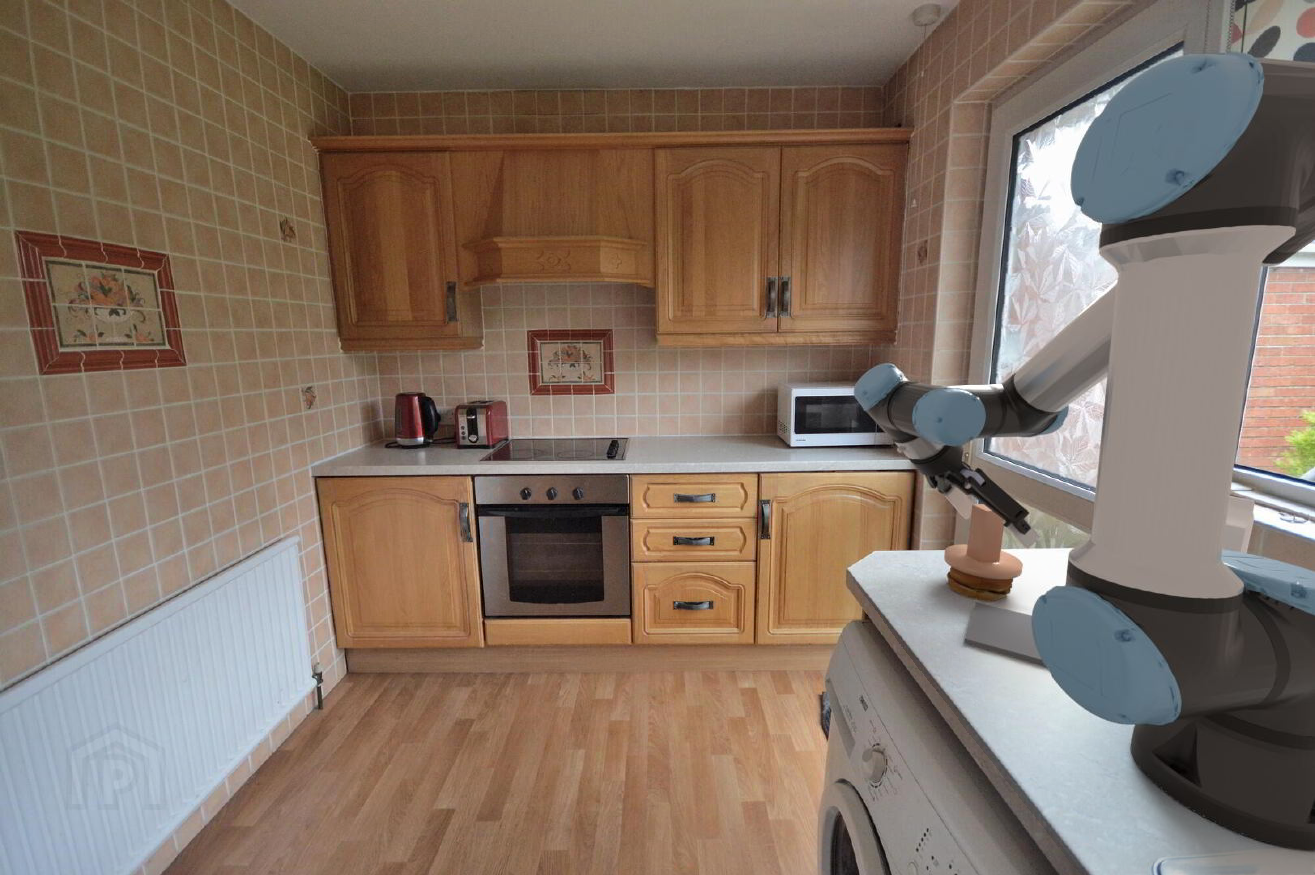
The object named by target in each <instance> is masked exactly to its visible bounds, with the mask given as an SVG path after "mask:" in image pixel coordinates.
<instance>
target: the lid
mask: <svg viewBox="0 0 1315 875" xmlns="http://www.w3.org/2000/svg"><path fill="white" fill-rule="evenodd" d="M969 519H970V520H969V528H968V538H967V544H965V543H964V544H961V543H960V544H954V545H950V546H948V547H946V548H945V550H944V555H943V560H944V562H945V563H946V564H947V565H948V566H949V567H950V568H951V567H953V568H955V569H957V570H959V571H961V572H964V573H967V574H970V575H974V576H978V577H983V578H990V579H1012V578H1013V579H1015V578H1017V577H1020V576H1021V575H1022V573H1023V568H1024V567H1023V566H1024V565H1023V564H1024V563H1023V562H1022V561H1021V560H1020V559H1019V558H1018V557H1016V556H1014V555H1013V554H1011V553H1009V552H1007V551H1003V550H1002V544H1003V536H1004V531H1005V530H1004V528H1005V526H1003V524H1004V523H1003V521H1004V519H1002V518H1001V517H1000V516H998V515H997V514H996V513H995V512H993V511H992V510H991V509H989V508H988V507H987V506H985V505H984V504H983V503H978V504H977V503H976V504H975V503H973V504H972V511H971V516H970V518H969Z"/></svg>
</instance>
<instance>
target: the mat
mask: <svg viewBox="0 0 1315 875" xmlns="http://www.w3.org/2000/svg"><path fill="white" fill-rule="evenodd" d="M1031 620H1032V614H1027V613H1025V612H1023V613H1022V612H1018V611H1016V610H1010V609H1006V608H1003V607H1000V606H999V607H998V606H994V605H989V604H986V603H983V602H982V603H981V602H978V601H974V606H973V609H972V613H971V616H970V619H969V623H968V626H967V629H966V632H965V637H964V640H963V644H965V645H969V646H972V647H976V648H979V649H982V650H986V651H990V652H993V653H997V654H1000V655H1003V656H1008V657H1011V658H1015V659H1018V660H1021V661H1026V662H1029V663H1032V664H1036V665H1039V666H1043V667H1046V666H1045V665H1044V663H1043V661H1042V659H1041V657H1040V655H1039V653H1038V650H1037V648H1036V645H1035V641H1034V638H1033V632H1032V624H1031Z"/></svg>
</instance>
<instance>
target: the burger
mask: <svg viewBox="0 0 1315 875" xmlns="http://www.w3.org/2000/svg"><path fill="white" fill-rule="evenodd" d="M946 577H947V579H948V580H947V582H948V586H949V588H950V589H951V590H952V591H954V592H955V593H957V594H959V595H961V596H963V597H965V598H969V599H973V600H976V601H982V602H994V601H996V600H999V599H1003V597H1006V596H1008V595H1009V594H1011V591H1012V590H1011V589H1013V582H1014V578H1012V579H990V578H983V577H978V576H974V575H970V574H967V573H964V572H961V571H959V570H957V569H955V568H953V567H951V566H950V568H949V571H948V572H947V574H946Z"/></svg>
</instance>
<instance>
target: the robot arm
mask: <svg viewBox="0 0 1315 875" xmlns="http://www.w3.org/2000/svg"><path fill="white" fill-rule="evenodd" d="M1070 192H1071V193H1070V194H1071V197H1072V199H1073V202H1074V204H1075V205H1076V206H1079V207H1080V211H1081V213H1082V214H1083V215H1084V216H1086V217H1087V218H1089V219H1091V220H1092V221H1094V222H1096V223H1098V224H1100V228H1099V229H1100V230H1099V239H1098V240H1099V241H1098V250H1097V254H1098V256H1100V257H1101V258H1102V259H1103V260H1104V261H1105V262H1107V263H1108V264H1109V265H1110V266H1112V267H1113V268H1114V270H1115V271H1116V273H1117V279H1116V280H1115V282H1113V284H1111V285H1110V286H1109V287H1108V288H1107V289H1106V290H1105V291H1103V293H1101V294H1100V295H1099V296H1098V297H1097V298H1096V299H1095V300H1094V301H1093V302H1091V304H1089V306H1087V307H1086V308H1085V309H1084V310H1082V312H1080V313H1079V314H1078V315H1077V316H1076V317H1075V318H1074V319H1073V320H1072V321H1071V322H1069V324H1067V325H1066V326H1065V327H1064V328H1063V329H1062V330H1060V331H1059V332H1058V333H1057V334H1056V335H1055V336H1054V337H1053V338H1052V339H1051V340H1050V341H1048V342H1047V343H1046V344H1045V345H1044V346H1043V347H1042V348H1041V349H1039V350H1038V351H1037V353H1035V354H1034V355H1033V356H1032V357H1031V358H1030V359H1029V360H1027V361H1026V362H1025V363H1024V364H1023V365H1021V367H1020V368H1019V369H1018V370H1016V372H1014V373H1013V374H1012V375H1011V376H1009V377H1008V378H1007V379H1006V380H1005V381H1004V382H1002V383H998V384H997V383H996V384H995V383H994V384H969V385H968V384H964V385H963V384H960V385H957V384H956V385H937V384H936V385H935V384H929V383H928V384H927V383H923V382H918V381H913V380H909V379H908V378H907V377H906V376H905V374H904V372H903V371H901V370H900V369H899V368H897V367H896V365H895V364H893V363H889V362H888V363H887V362H885V363H881V364H878V365H875V366H874V367H872V368H870V369H869V370H868V371H866V372H865V373H864V374H863V375H862V376H861V377H860V378H859V379H858V381H857V382H856V383H855V385H854V388H853V396H854V398H855V399H856V400H857V402H858V403H859V404H860V406H861V408H862V409H863V411H864V412H866V413H867V414H868V415H869V416H870V417H871V418H872V420H874V422H875V423H876V424H877V425H878V426H879V428H880V429H882V431H883V432H885V434H886V435H887V436H888V437H889V438H890V440H892V441H893V442H894V444H895V445H896V446H897V450H896V451H897V452H898V453H899V454H901V453H903V454H904V455H905V456H906V457H907V458H908V459H909V461H910V463H911V464H913V466H914V467H915V468H916V469H917V470H918V471H919V473H921V474H922V475H923V476H924V477H925V479H926V481H927V483H928V485H929V486H930V488H931V489H934V490H935V489H936V488H937V491H938V492H939V493H940V494H942V495H944V498H946V499H947V500H948V502H949V503H950V504H951V505H952V506H953V508H955V510H956V511H957V512H958V513H959V514H960V515H961V517H962V518H964V520H966V521H967V520H969V519H971V511H972V504H974V503H973V501H972V500H971V499H969V497H968V496H973V497H974V498H975V499H976V500H978V501H979V502H980V503H981V504H984V505H985V506H987V507H988V508H989V509H991V510H992V511H993V512H995V513H996V514H997V515H998V516H1000V517H1001V518H1002V519H1004V521H1003V523H1004V524H1003V526H1004V528H1007V529H1008V530H1009V531H1010V532H1011V533H1012V535H1013V536H1014V537H1015V538H1016V540H1018V542H1019V543H1020V544H1021V545H1022V546H1023V547H1024V549H1027V550H1029V549H1030V548H1031V547H1032V546H1033V545H1034V544H1035V543H1036V542H1037V541H1038V540H1039V539H1040V538H1041V536H1040V534H1038V532H1037V531H1036V530H1035V529H1034V528H1033V527H1032V525H1031V524H1030V523H1029V521H1028V520H1027V519H1026V518H1027V517H1028V515H1030V511H1029V510H1028V509H1026V508H1025V507H1023V506H1022V505H1021V504H1020V503H1019V502H1018V501H1017V500H1016V499H1014V498H1013V497H1012V496H1011V495H1009V493H1007V492H1006V491H1005V490H1004V489H1003V488H1001V487H1000V486H999V485H998V484H997V483H995V481H993V479H991V478H990V477H989V476H988V475H987V473H986V472H985V471H983V469H982V468H980V467H977V468H975V470H973V469H972V467H971V465H969V463H966V462H965V461H963V455H964V447H963V446H964V445H966V444H968V443H970V442H971V441H974V440H976V439H987V438H988V439H989V438H995V439H996V438H1019V437H1020V438H1033V437H1038V436H1043V435H1049V434H1053V433H1054V432H1056V431H1058V430H1060V428H1062V427H1063V426H1064V422H1065V421H1066V418H1068V416H1069V410H1070V406H1069V405H1070V404H1072V403H1073V402H1074V401H1076V400H1078V399H1079V398H1080V397H1082V396H1083V395H1084V394H1086V393H1087V392H1088V391H1090V390H1092V388H1095V386H1096V385H1098V384H1099V383H1101V382H1102V381H1103V380H1104V379H1106V386H1105V397H1104V398H1105V399H1104V406H1103V416H1102V426H1101V434H1100V435H1101V436H1100V445H1099V456H1098V463H1097V464H1098V466H1097V473H1096V474H1097V475H1096V484H1095V494H1094V503H1093V504H1094V505H1093V513H1092V522H1091V533H1090V536H1089V537H1090V538H1089V539H1088V540H1086V541H1084V542H1082V543H1081V544H1079V545H1077V546H1075V547H1073V548H1072V549H1070V551H1069V552H1068V557H1067V568H1066V576H1065V578H1066V579H1065V585H1055V586H1053V587H1051V588H1050V589H1049V590H1046V592H1045V593H1044V594H1042V595H1040V596H1038V598H1037V599H1036V601H1035V603H1034V605H1033V608H1032V612H1031V615H1032V620H1031V624H1032V632H1033V638H1034V641H1035V645H1036V648H1037V650H1038V653H1039V655H1040V657H1041V659H1042V661H1043V663H1044V665H1045V666H1044V667H1046V668H1047V669H1048V671H1049V673H1050V675H1051V677H1052V679H1053V681H1055V684H1057V685H1058V686H1059V688H1060V689H1061V690H1062V691H1063V692H1064V693H1065V694H1066V695H1067V696H1068V697H1069V698H1070V699H1072V701H1073V702H1075V703H1076V704H1077V705H1078V706H1080V707H1081V708H1082V709H1084V710H1086V711H1087V712H1089V713H1090V714H1092V715H1094V716H1096V717H1097V718H1100V719H1102V720H1105V721H1107V722H1111V723H1114V724H1119V725H1128V726H1129V725H1130V726H1131V725H1134V726H1133V731H1132V734H1131V739H1130V752H1131V754H1132V756H1133V759H1134V761H1135V762H1136V764H1137V765H1138V767H1139V769H1140V770H1141V771H1143V772H1142V773H1144V774H1145V775H1146V776H1147V777H1148V778H1149V779H1150V780H1151V781H1152V782H1153V783H1154V784H1155V785H1156V786H1158V787H1159V788H1160V789H1161V790H1163V791H1164V792H1165V793H1166V794H1168V795H1169V796H1171V797H1172V798H1173V799H1175V800H1176V801H1177V802H1179V803H1180V804H1182V805H1183V806H1185V807H1187V808H1188V809H1190V810H1192V811H1193V812H1195V813H1197V814H1199V815H1201V816H1203V817H1204V818H1206V819H1208V820H1209V821H1212V822H1214V823H1216V824H1218V825H1220V826H1222V827H1225V828H1226V829H1229V830H1230V831H1231V830H1232V831H1234V832H1235V833H1239V834H1242V835H1244V836H1247V837H1248V838H1252V839H1255V840H1257V841H1261V842H1264V843H1268V844H1273V845H1274V846H1275V845H1276V846H1280V847H1284V848H1288V849H1295V850H1303V851H1315V571H1314V570H1311V569H1308V568H1305V567H1303V566H1299V565H1296V564H1295V565H1294V564H1291V563H1287V562H1284V561H1280V560H1276V559H1273V558H1268V557H1264V556H1260V555H1256V554H1251V553H1248V552H1247V553H1242V552H1237V551H1231V550H1223V549H1222V548H1223V541H1224V534H1225V527H1226V519H1227V512H1228V505H1229V498H1230V496H1231V490H1232V483H1233V474H1234V466H1235V460H1236V453H1237V446H1238V440H1239V431H1240V424H1241V417H1242V410H1243V404H1244V403H1243V402H1244V394H1245V387H1246V381H1247V380H1246V379H1247V373H1248V366H1249V365H1248V364H1249V358H1250V351H1251V345H1252V338H1253V337H1252V336H1253V331H1254V324H1255V323H1254V322H1255V315H1256V308H1257V300H1258V293H1259V286H1260V278H1261V272H1262V268H1263V267H1265V268H1266V267H1276V266H1278V265H1281V264H1283V263H1285V262H1286V261H1287V260H1288V259H1289V258H1291V257H1292V256H1294V255H1295V254H1297V253H1299V251H1301V250H1303V248H1305V247H1306V246H1308V245H1309V244H1311V243H1312V242H1314V241H1315V62H1312V61H1301V60H1300V61H1299V60H1290V59H1288V60H1287V59H1279V58H1267V57H1254V55H1252V54H1250V53H1247V52H1239V51H1228V52H1219V53H1212V54H1211V53H1208V54H1207V53H1193V54H1186V55H1185V54H1184V55H1181V56H1177V57H1174V58H1170V59H1168V60H1164V61H1163V62H1160V63H1158V64H1156V65H1154V66H1152V67H1150V68H1148V69H1146V70H1145V71H1144V72H1142V73H1141V74H1138V75H1137V76H1136V77H1135V78H1133V79H1132V80H1130V81H1129V82H1127V84H1125V85H1124V86H1123V87H1122V88H1120V90H1118V92H1116V93H1115V94H1114V95H1113V96H1112V97H1111V98H1110V100H1108V101H1107V103H1106V105H1105V106H1104V109H1103V110H1102V111H1101V113H1100V114H1099V115H1098V116H1096V117H1094V119H1093V120H1092V121H1091V124H1090V125H1089V126H1088V128H1087V130H1086V131H1085V134H1084V135H1083V137H1082V139H1081V141H1080V143H1079V145H1078V147H1077V151H1076V153H1075V156H1074V159H1073V163H1072V166H1071V170H1070ZM968 486H969V488H967V487H968Z"/></svg>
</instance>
